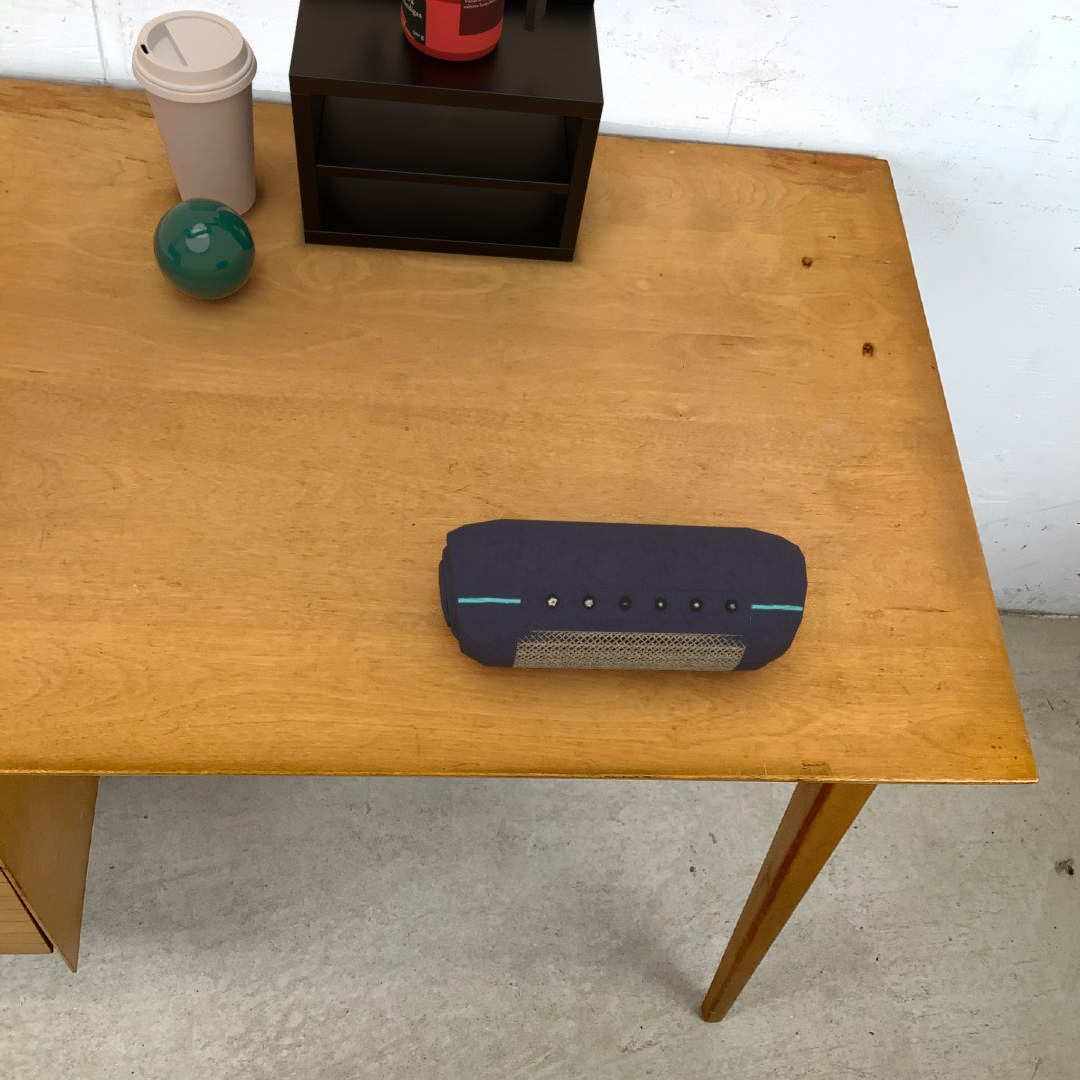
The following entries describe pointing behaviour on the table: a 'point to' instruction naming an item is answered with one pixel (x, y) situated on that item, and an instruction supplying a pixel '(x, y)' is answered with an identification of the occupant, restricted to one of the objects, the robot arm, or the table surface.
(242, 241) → the sphere
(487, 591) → the portable speaker
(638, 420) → the table surface
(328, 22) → the rack
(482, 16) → the canned food
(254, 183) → the coffee cup
